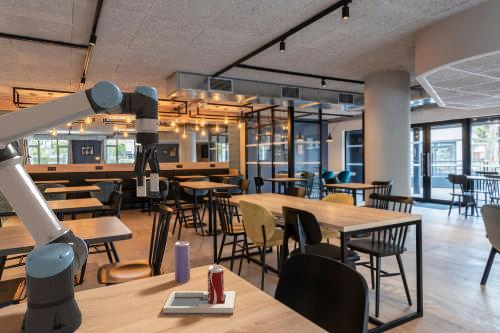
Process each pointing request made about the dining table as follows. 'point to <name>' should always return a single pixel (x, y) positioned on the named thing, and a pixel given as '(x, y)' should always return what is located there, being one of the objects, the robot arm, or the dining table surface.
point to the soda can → (215, 285)
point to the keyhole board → (198, 304)
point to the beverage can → (182, 262)
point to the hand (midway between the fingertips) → (148, 193)
